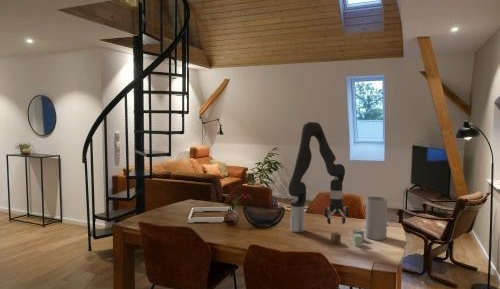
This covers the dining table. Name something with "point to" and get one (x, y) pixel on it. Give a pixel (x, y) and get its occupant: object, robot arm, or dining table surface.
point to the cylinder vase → (376, 218)
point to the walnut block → (335, 238)
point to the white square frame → (208, 219)
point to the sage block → (357, 240)
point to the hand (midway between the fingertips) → (336, 223)
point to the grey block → (359, 232)
